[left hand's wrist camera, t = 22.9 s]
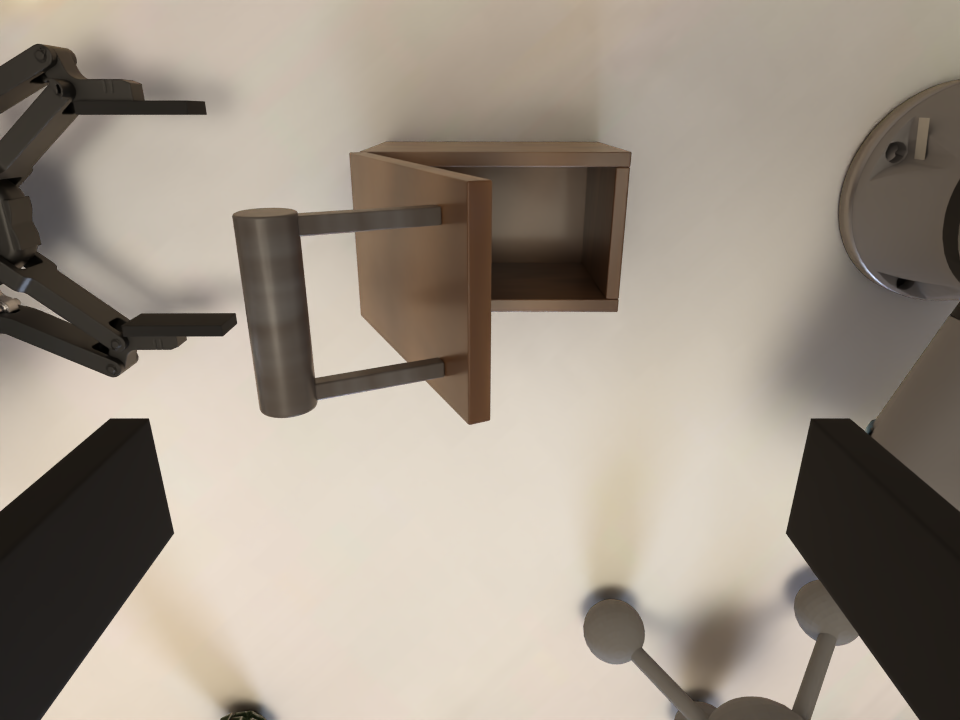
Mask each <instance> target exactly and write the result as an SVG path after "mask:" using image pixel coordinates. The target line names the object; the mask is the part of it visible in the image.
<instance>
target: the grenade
mask: <svg viewBox="0 0 960 720" xmlns="http://www.w3.org/2000/svg"><path fill="white" fill-rule="evenodd" d="M220 720H266V719H265V718H264V717H263V716H262V715H261V714H258V713H256V712H254V711H245V712H237V713H235V714H234V715H232V713H230V714H228V715H226V716H224V717H222V718H221V719H220Z"/></svg>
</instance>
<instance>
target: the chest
mask: <svg viewBox="0 0 960 720" xmlns="http://www.w3.org/2000/svg"><path fill="white" fill-rule="evenodd" d="M361 152H367V153H372V154H376V155H381V156H385V157H390V158H394V159H399V160H403V161H408V162H412V163H417V164H421V165H426V166H430V167H435V168H439V169H444V170H448V171H453V172H458V173H462V174H467V175H471V176H476V177H480V178H485V179H489V180H492V262H491V312H617V311H618V298H619V288H620V276H621V265H622V253H623V242H624V230H625V219H626V207H627V195H628V184H629V172H630V168H629V167H630V163H631V152H629V151H626V150H622V149H619V148H616V147H613V146H609V145H606V144H603V143H599V142H384V143H381V144H379V145H376V146H374V147H371V148H368V149H366V150H363V151H361Z"/></svg>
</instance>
